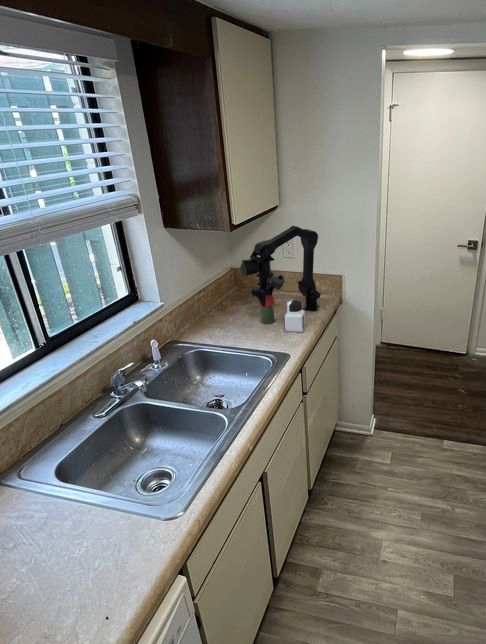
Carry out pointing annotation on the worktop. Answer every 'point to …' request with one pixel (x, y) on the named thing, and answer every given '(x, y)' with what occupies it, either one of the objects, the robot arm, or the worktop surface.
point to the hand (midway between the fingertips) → (266, 303)
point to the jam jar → (267, 315)
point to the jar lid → (268, 301)
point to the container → (294, 317)
